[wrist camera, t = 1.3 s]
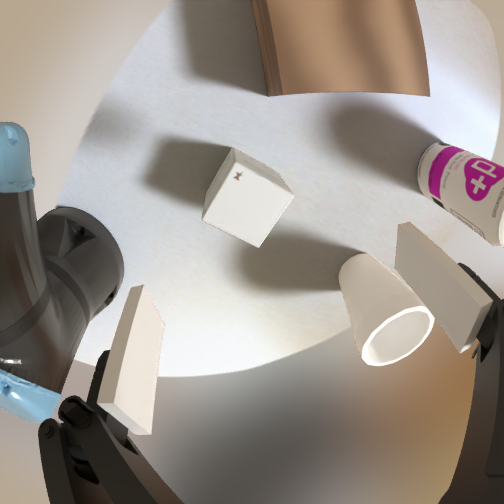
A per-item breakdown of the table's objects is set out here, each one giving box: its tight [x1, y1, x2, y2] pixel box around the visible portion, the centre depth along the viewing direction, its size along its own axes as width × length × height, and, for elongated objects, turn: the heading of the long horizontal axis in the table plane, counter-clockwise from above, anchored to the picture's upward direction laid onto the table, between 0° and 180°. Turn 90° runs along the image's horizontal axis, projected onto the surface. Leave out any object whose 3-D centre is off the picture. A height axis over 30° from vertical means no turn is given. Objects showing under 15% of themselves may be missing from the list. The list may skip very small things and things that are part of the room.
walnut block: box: [251, 0, 430, 97], centre depth 18 cm, size 14×14×8 cm
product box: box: [202, 148, 295, 248], centre depth 27 cm, size 6×6×7 cm
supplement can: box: [417, 142, 504, 247], centre depth 24 cm, size 8×8×15 cm
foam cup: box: [338, 253, 435, 366], centre depth 32 cm, size 10×9×13 cm
